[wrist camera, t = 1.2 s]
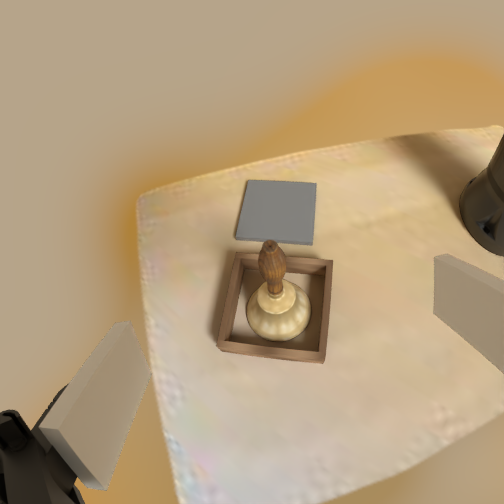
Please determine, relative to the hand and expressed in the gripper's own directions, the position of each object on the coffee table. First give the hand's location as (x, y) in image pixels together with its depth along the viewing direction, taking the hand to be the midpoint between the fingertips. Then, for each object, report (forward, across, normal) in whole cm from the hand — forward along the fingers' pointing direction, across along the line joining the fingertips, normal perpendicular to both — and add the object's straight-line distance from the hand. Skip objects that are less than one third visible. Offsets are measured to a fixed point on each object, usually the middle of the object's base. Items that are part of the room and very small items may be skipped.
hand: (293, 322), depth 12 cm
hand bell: (+26, 0, -12) cm, 28 cm away
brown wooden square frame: (+26, 0, -11) cm, 28 cm away
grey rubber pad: (+36, +3, 0) cm, 36 cm away
